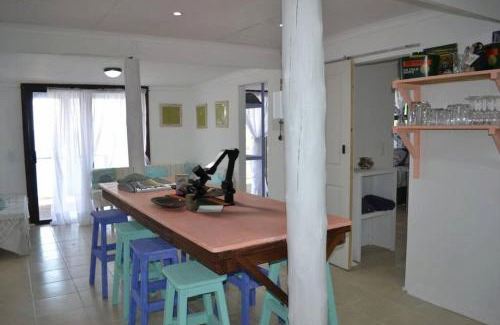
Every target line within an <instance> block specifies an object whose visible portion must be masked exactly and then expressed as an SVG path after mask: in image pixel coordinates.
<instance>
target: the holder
mask: <svg viewBox="0 0 500 325" xmlns="http://www.w3.org/2000/svg"><path fill="white" fill-rule="evenodd" d="M163 185H164V186H166V187H157V188H147V189H142V190H141V189H139V188H136V189H137V192H136V193H138V194H140V193H141V194H142V193H149V192H151V193H152V192H157V191H159V192H160V191H167V190H173V189H172V188H171V186H170V185H176V182H174V183H168V184H163Z"/></svg>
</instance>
